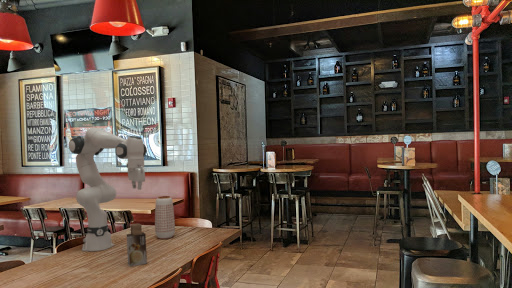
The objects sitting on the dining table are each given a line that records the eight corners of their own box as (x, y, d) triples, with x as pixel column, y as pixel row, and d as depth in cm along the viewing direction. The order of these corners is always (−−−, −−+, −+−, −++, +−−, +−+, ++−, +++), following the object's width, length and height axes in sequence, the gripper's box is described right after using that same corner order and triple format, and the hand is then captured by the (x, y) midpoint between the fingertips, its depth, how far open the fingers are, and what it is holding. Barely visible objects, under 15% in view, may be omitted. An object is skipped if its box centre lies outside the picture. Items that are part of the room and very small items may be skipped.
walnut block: (130, 233, 199) (130, 224, 199) (139, 232, 202) (138, 223, 202) (133, 235, 196) (132, 225, 196) (141, 234, 198) (141, 224, 198)
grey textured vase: (179, 236, 257) (177, 196, 257) (164, 240, 246) (163, 198, 246) (165, 234, 264) (164, 195, 265) (151, 238, 253) (149, 197, 253)
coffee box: (144, 260, 204) (143, 231, 204) (147, 263, 198) (146, 233, 198) (127, 263, 199) (126, 233, 199) (129, 266, 194) (128, 236, 194)
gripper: (147, 164, 203) (148, 189, 203) (136, 163, 220) (137, 187, 219) (136, 165, 199) (136, 190, 199) (125, 164, 216) (126, 188, 216)
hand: (136, 189), depth 209 cm, fingers open, 8 cm apart
